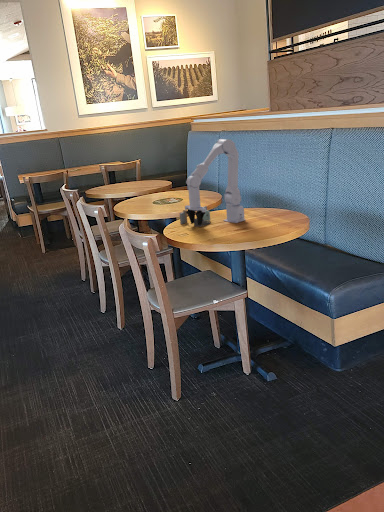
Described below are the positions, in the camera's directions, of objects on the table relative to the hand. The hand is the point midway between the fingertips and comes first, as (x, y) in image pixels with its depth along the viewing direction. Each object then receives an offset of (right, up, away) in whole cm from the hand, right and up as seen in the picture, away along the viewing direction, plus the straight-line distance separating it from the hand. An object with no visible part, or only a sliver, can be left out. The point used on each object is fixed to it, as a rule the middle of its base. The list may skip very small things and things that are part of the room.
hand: (196, 223), depth 239 cm
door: (+4, +3, +13) cm, 14 cm away
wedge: (+3, 0, +3) cm, 5 cm away
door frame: (-1, +3, +15) cm, 15 cm away
